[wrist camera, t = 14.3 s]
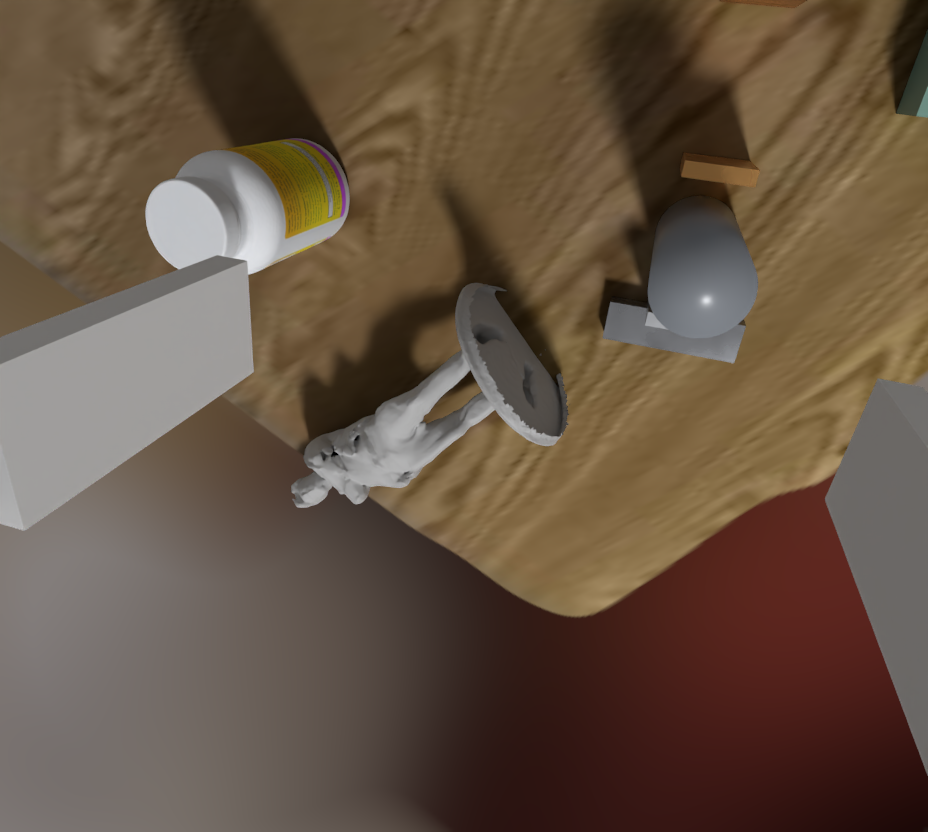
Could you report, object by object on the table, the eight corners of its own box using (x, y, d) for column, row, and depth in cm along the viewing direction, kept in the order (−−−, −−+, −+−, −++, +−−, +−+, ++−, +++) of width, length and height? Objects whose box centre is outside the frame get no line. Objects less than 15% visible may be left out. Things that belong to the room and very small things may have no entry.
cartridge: (662, 192, 38) (657, 231, 29) (746, 199, 37) (770, 242, 28) (648, 270, 40) (639, 331, 31) (727, 279, 39) (743, 344, 30)
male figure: (569, 466, 37) (292, 590, 50) (595, 391, 45) (351, 515, 58) (454, 303, 34) (194, 478, 47) (503, 255, 42) (269, 415, 55)
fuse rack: (740, -307, 29) (751, -368, 25) (942, -306, 27) (988, -372, 23) (604, 331, 43) (597, 356, 39) (732, 356, 41) (738, 384, 37)
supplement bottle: (294, 113, 42) (160, 124, 31) (372, 188, 43) (268, 224, 32) (245, 194, 45) (108, 230, 34) (318, 261, 46) (207, 318, 35)
